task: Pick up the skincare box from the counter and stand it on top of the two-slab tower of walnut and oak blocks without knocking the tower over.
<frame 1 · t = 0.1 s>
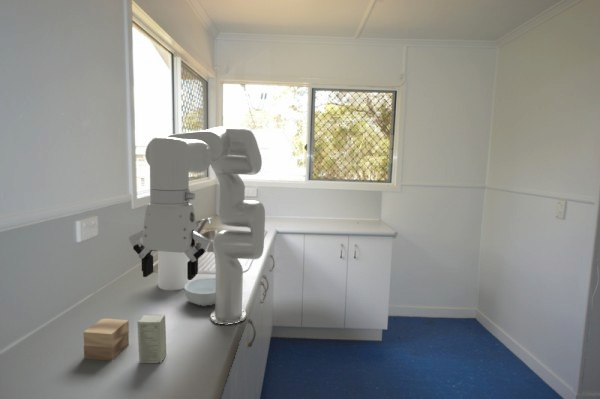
hand: (170, 276, 72), 31 cm above the worktop, tool pointing down, fingers open, 9 cm apart
cereal bowl: (206, 302, 132), on the worktop
walnut base block: (107, 352, 97), on the worktop, touching oak top block
canister: (174, 284, 148), on the worktop
skincare box: (152, 359, 94), on the worktop
oak top block: (107, 339, 96), point 4 cm above the worktop, touching walnut base block
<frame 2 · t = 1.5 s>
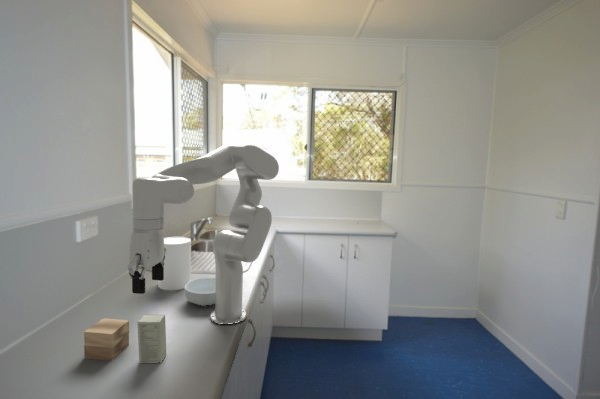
hand: (148, 286, 91), 21 cm above the worktop, tool pointing down, fingers open, 9 cm apart
walnut base block: (107, 352, 97), on the worktop
oak top block: (107, 339, 96), point 4 cm above the worktop
everything else where it was.
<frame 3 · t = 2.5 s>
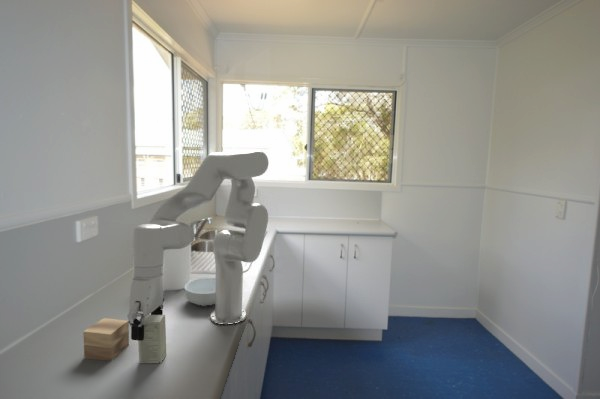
hand: (147, 330, 92), 9 cm above the worktop, tool pointing down, fingers open, 9 cm apart
nothing on the worktop moved.
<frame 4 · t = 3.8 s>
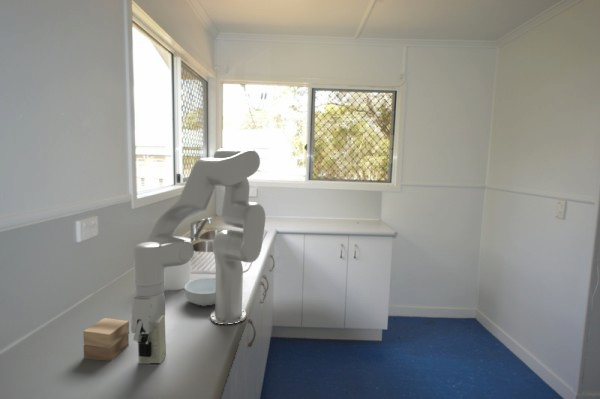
hand: (150, 349, 93), 3 cm above the worktop, tool pointing down, fingers closed on skincare box, 4 cm apart
walnut base block: (107, 352, 97), on the worktop, touching oak top block
skincare box: (152, 360, 94), on the worktop, touching gripper
oak top block: (107, 339, 96), point 4 cm above the worktop, touching walnut base block
everything else where it was.
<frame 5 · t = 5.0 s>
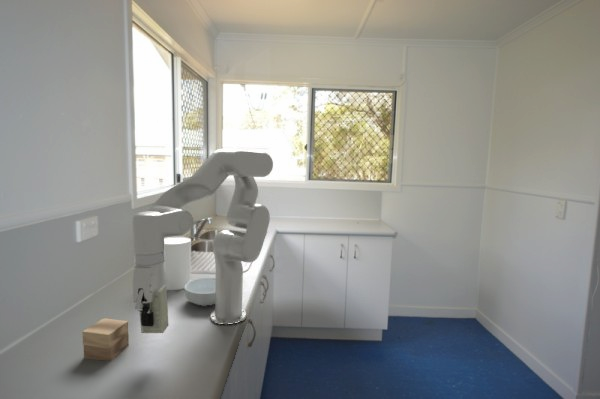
hand: (152, 320, 93), 11 cm above the worktop, tool pointing down, fingers closed on skincare box, 4 cm apart
walnut base block: (107, 352, 97), on the worktop
skincare box: (154, 330, 93), point 8 cm above the worktop, touching gripper
oak top block: (106, 339, 96), point 4 cm above the worktop
everything else where it was.
when the fingers open (12 cm above the worktop, at t = 8.9 s): skincare box drops 2 cm, resting on oak top block.
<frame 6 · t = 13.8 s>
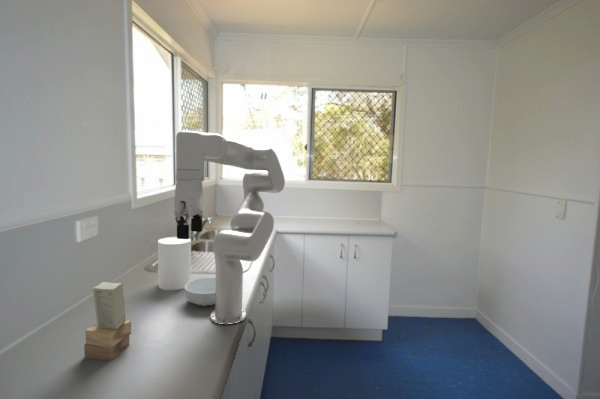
hand: (190, 234, 97), 34 cm above the worktop, tool pointing down, fingers open, 9 cm apart
walnut base block: (107, 351, 97), on the worktop, touching oak top block
skincare box: (111, 325, 96), point 8 cm above the worktop, touching oak top block
oak top block: (109, 338, 97), point 4 cm above the worktop, touching skincare box, walnut base block
everything else where it was.
at the end: skincare box 0.8 cm off-centre on the oak top block, point 3.9 cm above the oak top block's base; skincare box tilted 2°; oak top block moved 0.7 cm from its start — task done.
